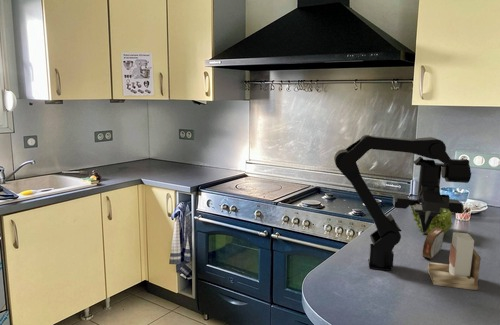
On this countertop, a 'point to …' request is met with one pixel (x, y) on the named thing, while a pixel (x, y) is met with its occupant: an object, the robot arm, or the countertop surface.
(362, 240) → the countertop surface
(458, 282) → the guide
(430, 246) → the tin
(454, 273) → the white milk carton
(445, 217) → the green leafy lettuce
